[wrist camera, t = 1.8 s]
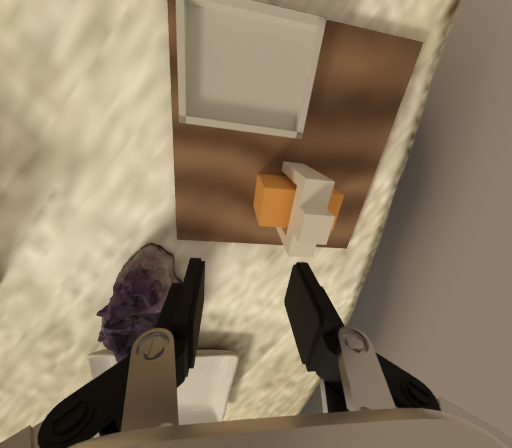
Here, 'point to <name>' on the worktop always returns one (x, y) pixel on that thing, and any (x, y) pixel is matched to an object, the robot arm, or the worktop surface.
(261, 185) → the orange block
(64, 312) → the worktop surface
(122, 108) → the worktop surface
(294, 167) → the beige blocky piece
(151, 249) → the geode
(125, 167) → the worktop surface
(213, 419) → the square plate
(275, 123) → the tray
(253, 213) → the board
